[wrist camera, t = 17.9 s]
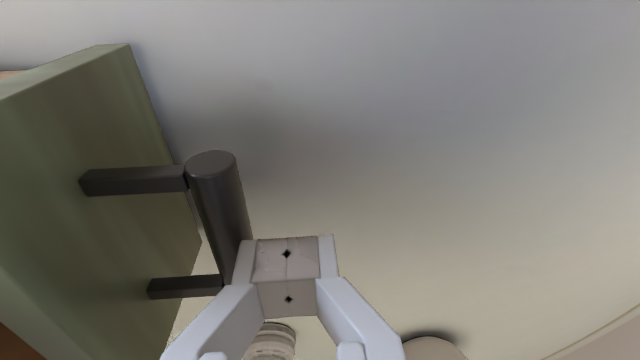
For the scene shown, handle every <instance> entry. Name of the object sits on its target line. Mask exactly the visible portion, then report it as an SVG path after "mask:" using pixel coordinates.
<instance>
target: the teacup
mask: <svg viewBox="0 0 640 360" xmlns="http://www.w3.org/2000/svg"><path fill="white" fill-rule="evenodd" d="M402 345H403V349H404V352H405V356H406V360H468V359H467V358H466V356H465V355H464V354H463V353H462V352H461V351H460V350H459V349H458V348H457V347H456V346H454V345H453V344H451V343H450V342H448V341H446V340H443V339H440V338H437V337H419V338H415V339H412V340H409V341H407V342H405V343H403V344H402Z"/></svg>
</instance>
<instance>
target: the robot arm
mask: <svg viewBox="0 0 640 360" xmlns="http://www.w3.org/2000/svg"><path fill="white" fill-rule="evenodd" d="M315 315H317V317H318V318H319V320H320V321H321V323H322V324H323V326H324V327H325V329H326V331H327V332H328V334H329V335H330V337H331V338H332V340H333V341H334V343H335V344H336V346H337V360H406V356H405V352H404V349H403V345H402V342H401V338H400V336H399V335H398V334H397V333H396V332H395V331H394V330H393V328H392V327H391V326H390V325H389V324H388V323H387V322H386V321H385V320H384V319H383V318H382V317H381V316H380V315H379V313H378V312H377V311H376V310H375V309H374V308H373V307H372V306H371V305H370V304H369V303H368V302H367V301H366V299H365V298H364V297H363V296H362V295H361V294H360V293H359V292H358V291H357V290H356V289H355V288H354V287H353V286H352V284H351V283H350V282H349V281H348V280H347V279H346V278H345V277H340V276H339V269H338V262H337V254H336V247H335V240H334V236H333V234H332V235H318V236H303V237H290V238H275V239H257V240H242V241H241V243H240V244H239V249H238V254H237V258H236V263H235V268H234V272H233V277H232V282H231V285H226V286H225V287H224V288H223V289H222V290H221V291H220V292H219V293H218V294H217V295H216V296H215V297H214V299H213V300H212V301H211V302H210V303H209V304H208V305H207V306H206V307H205V308H204V309H203V310H202V311H201V313H200V314H199V315H198V316H197V317H196V318H195V319H194V320H193V321H192V322H191V323H190V324H189V325H188V326H187V328H186V329H185V330H184V331H183V332H182V333H181V334H180V335H179V336H178V337H177V338H176V339H175V340H174V342H173V343H172V344H171V345H170V346H169V347H168V348H167V349H166V350H165V351H164V352H163V353H162V355H161V357H160V360H241V359H242V357H243V355H244V354H245V352H246V351H247V349H248V347H249V346H250V344H251V343H252V341H253V339H254V338H255V336H256V335H257V333H258V331H259V330H260V328H261V327H262V325H263V323H264V322H265V320H264V319H272V318H282V317H293V316H315Z"/></svg>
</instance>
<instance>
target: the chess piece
mask: <svg viewBox="0 0 640 360" xmlns="http://www.w3.org/2000/svg"><path fill="white" fill-rule="evenodd" d="M295 344H296V338H295V333H294V332H293V331H292V330H291V329H290V328H288V327H286V326H284V325H280V324H274V323H266V324H263V325H262V327H261V328H260V330H259V331H258V333H257V335H256V336H255V338H254V339H253V341H252V343H251V344H250V346H249V347H248V349H247V351H246V352H245V354H244V355H243V357H242V358H243V360H292V359H293V357H294V355H295V349H294V346H295Z"/></svg>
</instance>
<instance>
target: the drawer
mask: <svg viewBox="0 0 640 360" xmlns="http://www.w3.org/2000/svg"><path fill="white" fill-rule="evenodd" d="M189 189H190V190H191V193H192V196H193V199H194V202H195V205H196V207H197V210H198V213H199V216H200V219H201V222H202V224H203V227H204V230H205V233H206V236H207V239H208V242H209V244H210V247H211V250H212V253H213V256H214V259H215V261H216V264H217V267H218V270H219V273H220V274H209V275H194V276H191V273H192V270H193V267H194V264H195V261H196V258H197V256H198V253H199V250H200V247H201V244H202V240H201V237H200V234H199V232H198V229H197V226H196V223H195V221H194V218H193V215H192V213H191V210H190V207H189V205H188V202H187V199H186V196H185V194H184V192H187V191H189ZM242 240H254V238H253V234H252V229H251V225H250V220H249V216H248V211H247V206H246V202H245V197H244V193H243V188H242V184H241V179H240V175H239V170H238V166H237V161H236V158H235V157H234V155H233V154H231V153H230V152H227V151H222V150H213V151H207V152H203V153H200V154H197V155H195V156H193V157H192V158H190V159H189V160H188V161H187V162H186V163H185V164H183V165H174V164H173V161H172V159H171V156H170V153H169V151H168V148H167V145H166V142H165V140H164V137H163V134H162V132H161V129H160V126H159V124H158V121H157V118H156V115H155V113H154V110H153V107H152V105H151V102H150V99H149V97H148V94H147V91H146V88H145V86H144V83H143V80H142V78H141V75H140V72H139V70H138V67H137V64H136V61H135V59H134V56H133V53H132V51H131V48H130V45H129V44H104V45H94V46H91V47H89V48H86V49H83V50H81V51H78V52H75V53H73V54H70V55H67V56H65V57H62V58H59V59H57V60H54V61H51V62H49V63H46V64H43V65H41V66H38V67H35V68H33V69H30V70H20V71H0V360H160V357H161V355H162V353H163V352H164V350H165V347H166V344H167V341H168V338H169V336H170V333H171V330H172V327H173V324H174V321H175V318H176V316H177V313H178V310H179V307H180V304H181V301H182V298H190V297H205V296H216V295H217V294H218V293H219V292H220V291H221V290H222V289H223V288H224V287H225V286H226V285H231V282H232V277H233V272H234V268H235V263H236V258H237V254H238V249H239V244H240V243H241V241H242Z"/></svg>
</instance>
